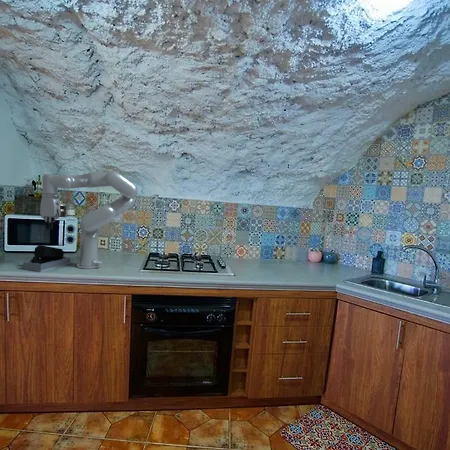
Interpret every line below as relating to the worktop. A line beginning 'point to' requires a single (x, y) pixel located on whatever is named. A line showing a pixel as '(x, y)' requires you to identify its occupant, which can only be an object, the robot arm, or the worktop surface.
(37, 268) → the holder tray
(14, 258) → the worktop surface
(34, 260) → the black irregular piece
